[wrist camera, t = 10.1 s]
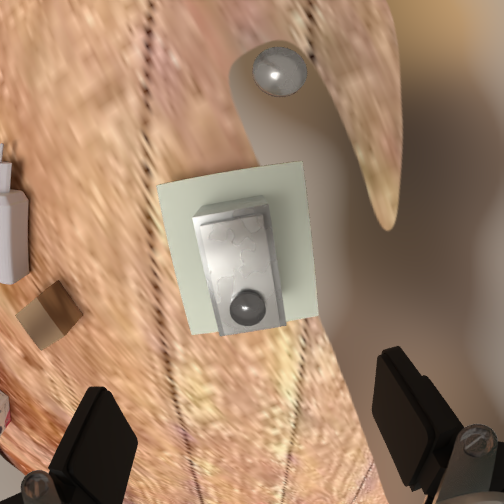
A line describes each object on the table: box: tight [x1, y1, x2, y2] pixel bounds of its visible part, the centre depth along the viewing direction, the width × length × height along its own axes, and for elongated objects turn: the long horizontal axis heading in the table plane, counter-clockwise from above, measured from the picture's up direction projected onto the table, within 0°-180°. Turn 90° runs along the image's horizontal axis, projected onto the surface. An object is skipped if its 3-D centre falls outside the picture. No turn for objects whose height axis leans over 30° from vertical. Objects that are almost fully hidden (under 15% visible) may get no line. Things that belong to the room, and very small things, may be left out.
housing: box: [192, 195, 286, 336], centre depth 23 cm, size 9×5×7 cm, turn 10°
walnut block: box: [15, 280, 83, 351], centre depth 29 cm, size 5×5×5 cm
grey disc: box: [252, 47, 307, 97], centre depth 25 cm, size 5×5×1 cm
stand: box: [156, 161, 319, 335], centre depth 28 cm, size 14×12×4 cm
